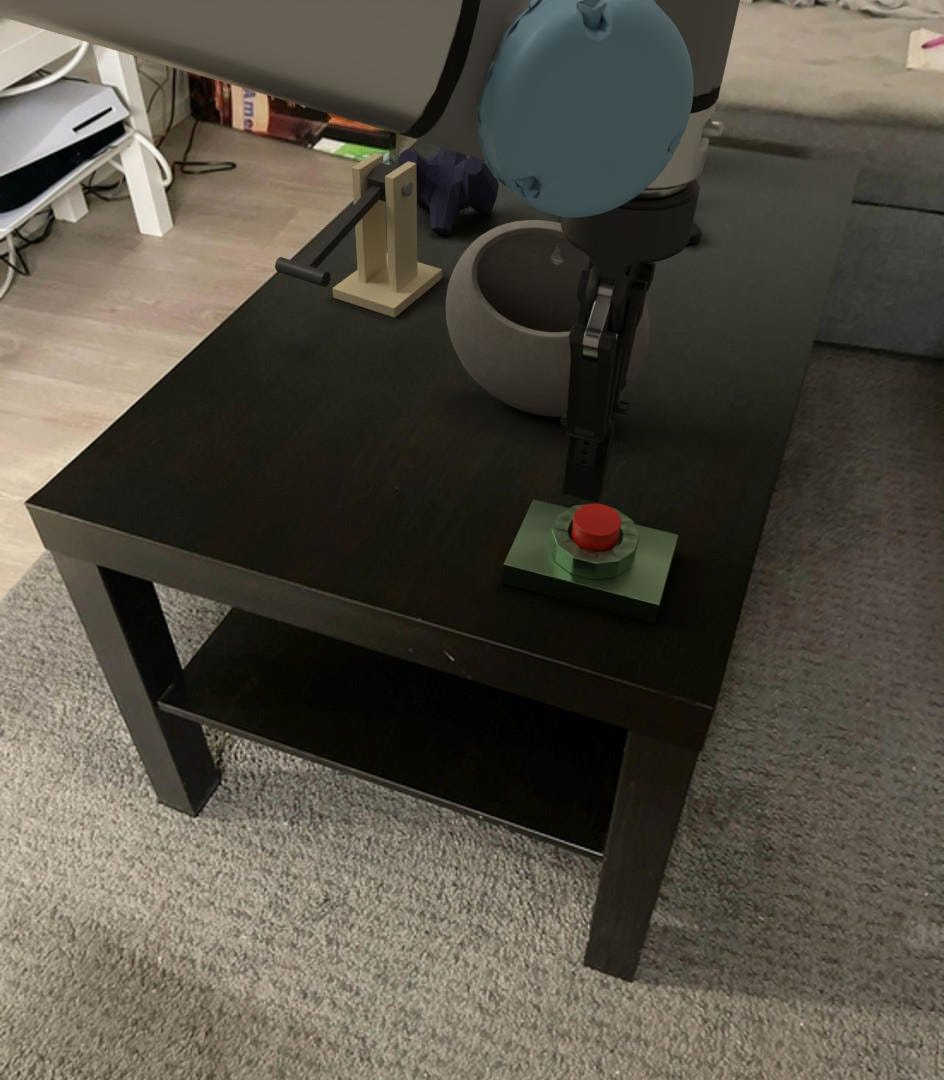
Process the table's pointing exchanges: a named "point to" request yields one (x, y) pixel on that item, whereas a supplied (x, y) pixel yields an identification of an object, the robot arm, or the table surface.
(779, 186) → the table surface
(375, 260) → the lever bracket
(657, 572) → the button block
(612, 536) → the button
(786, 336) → the table surface
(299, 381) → the table surface
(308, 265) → the lever
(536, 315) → the planter
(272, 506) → the table surface
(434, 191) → the tetrapod
